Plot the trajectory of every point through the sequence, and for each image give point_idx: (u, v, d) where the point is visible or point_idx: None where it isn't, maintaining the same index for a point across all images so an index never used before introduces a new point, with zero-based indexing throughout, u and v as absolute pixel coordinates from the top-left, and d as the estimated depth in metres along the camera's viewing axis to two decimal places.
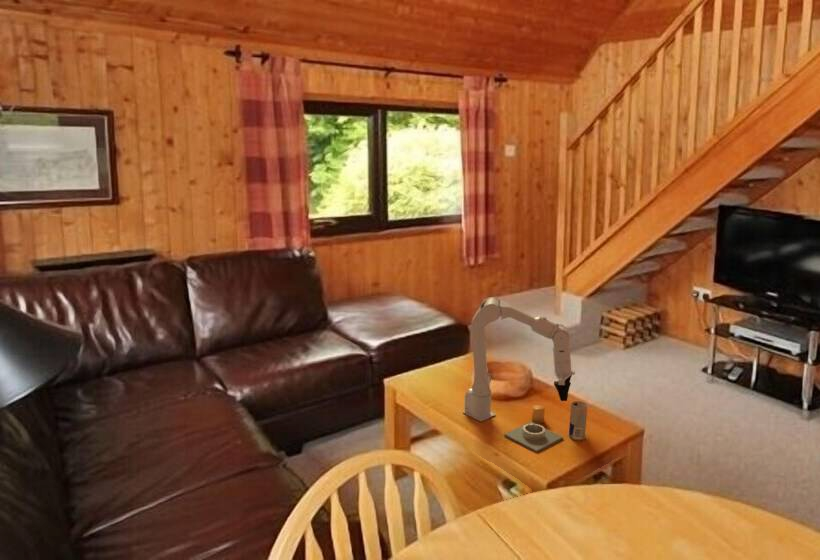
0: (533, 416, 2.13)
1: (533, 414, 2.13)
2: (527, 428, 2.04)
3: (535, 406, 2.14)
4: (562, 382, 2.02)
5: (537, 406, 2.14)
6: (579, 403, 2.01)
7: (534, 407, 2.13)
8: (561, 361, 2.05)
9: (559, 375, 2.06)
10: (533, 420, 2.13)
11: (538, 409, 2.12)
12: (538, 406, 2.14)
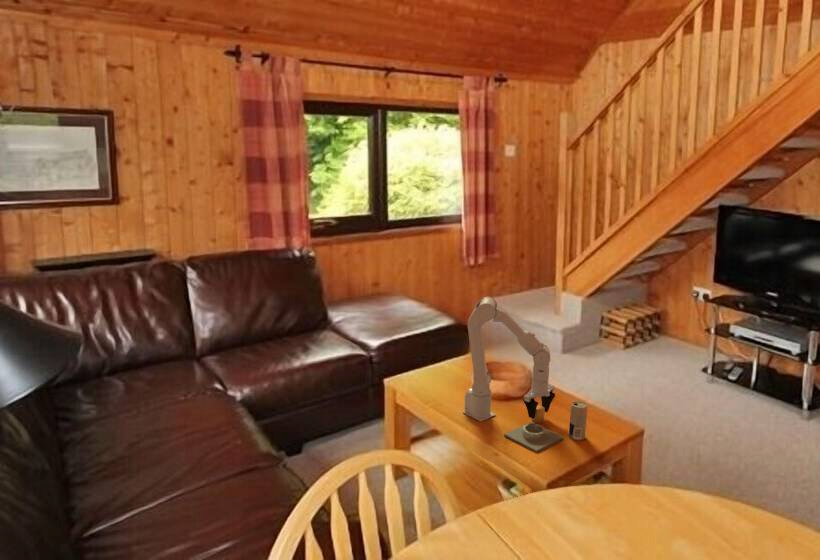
0: None
1: None
2: (527, 428, 2.04)
3: None
4: (527, 399, 2.07)
5: (537, 406, 2.14)
6: (579, 403, 2.01)
7: None
8: (539, 380, 2.08)
9: (532, 392, 2.10)
10: (533, 420, 2.13)
11: (538, 409, 2.12)
12: (538, 406, 2.14)
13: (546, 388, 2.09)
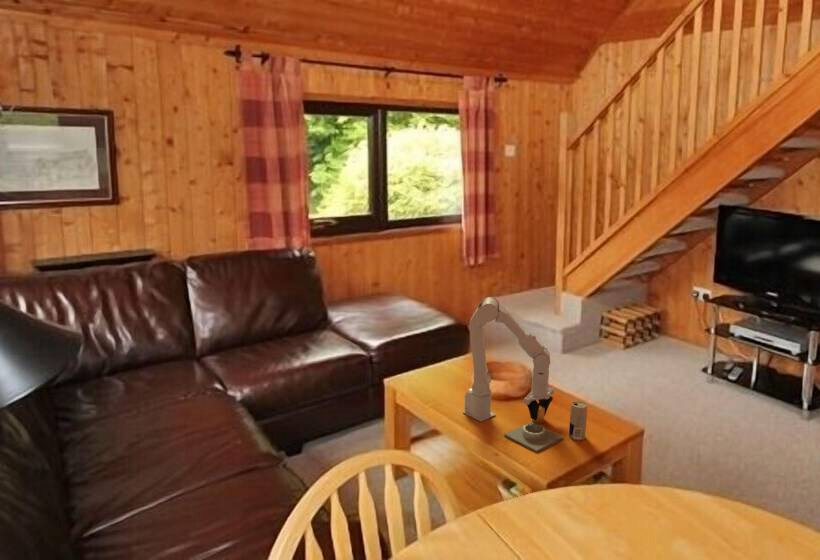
0: None
1: None
2: (527, 428, 2.04)
3: None
4: (526, 401, 2.07)
5: None
6: (579, 403, 2.01)
7: None
8: (539, 383, 2.08)
9: (531, 395, 2.11)
10: (533, 420, 2.13)
11: None
12: None
13: (546, 391, 2.09)
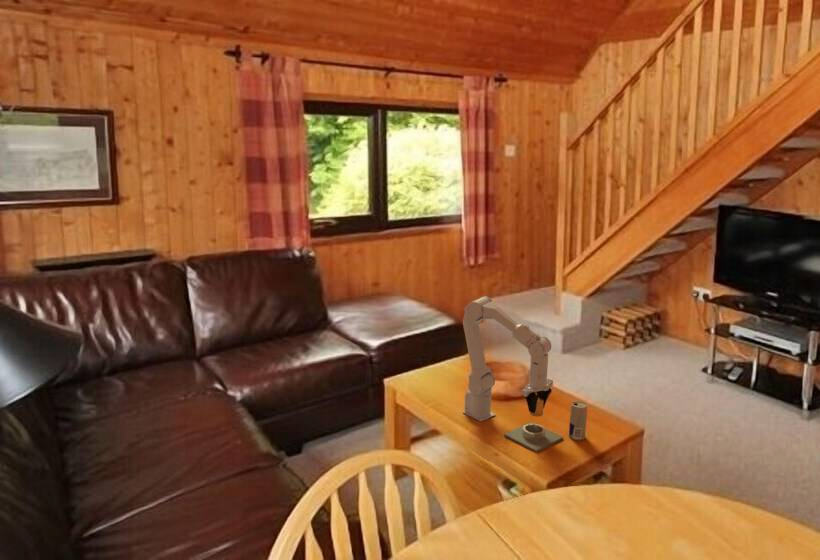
0: None
1: None
2: (527, 428, 2.04)
3: None
4: (524, 393, 1.97)
5: None
6: (579, 403, 2.01)
7: None
8: (534, 373, 1.99)
9: (530, 386, 2.01)
10: (531, 413, 2.03)
11: (537, 401, 2.02)
12: None
13: (545, 382, 1.99)
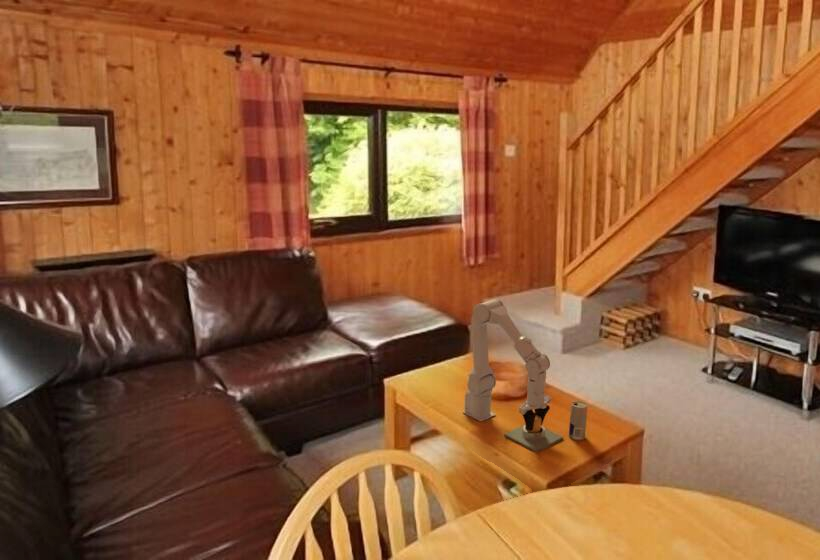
0: None
1: None
2: None
3: None
4: (522, 411, 1.95)
5: None
6: (579, 403, 2.01)
7: None
8: (530, 390, 1.96)
9: (527, 404, 1.98)
10: (529, 431, 2.00)
11: None
12: None
13: (542, 400, 1.97)
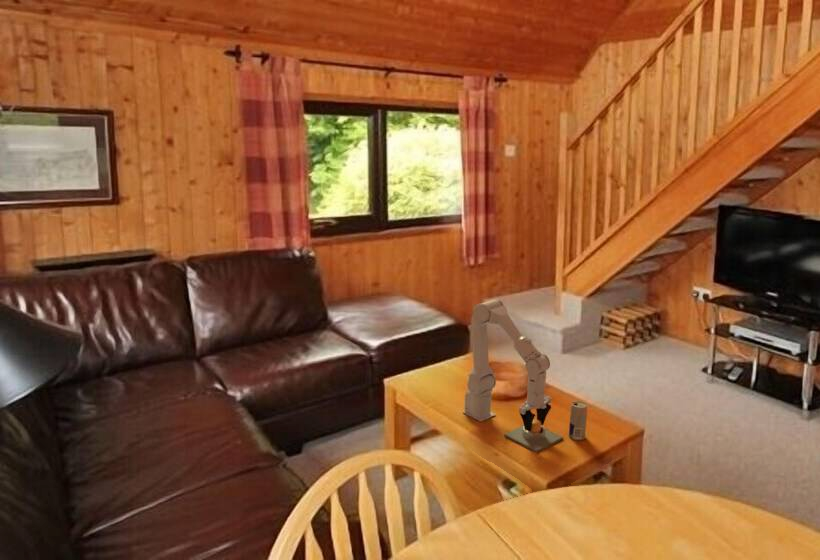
0: None
1: None
2: None
3: None
4: (522, 411, 1.95)
5: (533, 420, 2.02)
6: (579, 403, 2.01)
7: None
8: (530, 390, 1.96)
9: (527, 404, 1.98)
10: None
11: (534, 423, 2.00)
12: (534, 420, 2.02)
13: (542, 400, 1.97)
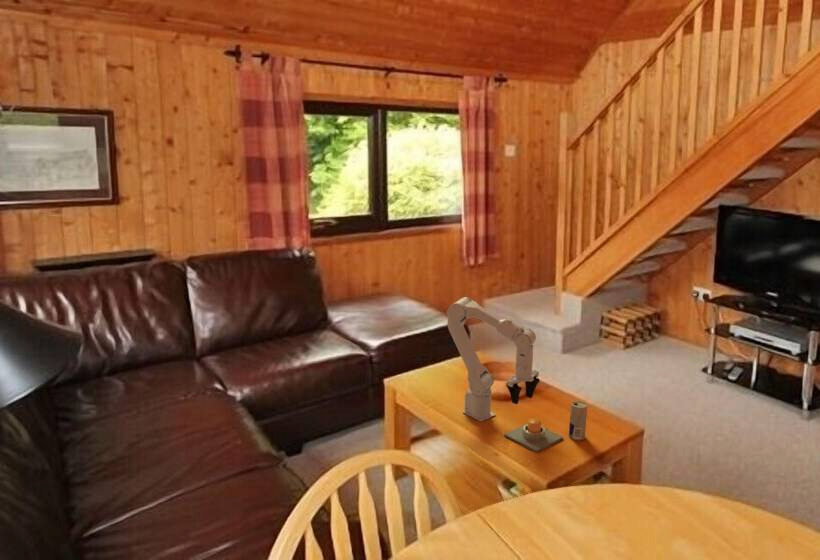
0: (529, 431, 2.00)
1: (529, 429, 2.00)
2: (527, 428, 2.04)
3: (531, 420, 2.02)
4: (510, 383, 2.02)
5: (533, 420, 2.02)
6: (579, 403, 2.01)
7: (530, 421, 2.01)
8: (520, 365, 2.03)
9: (515, 377, 2.06)
10: None
11: (534, 424, 2.00)
12: (534, 420, 2.02)
13: (530, 373, 2.04)
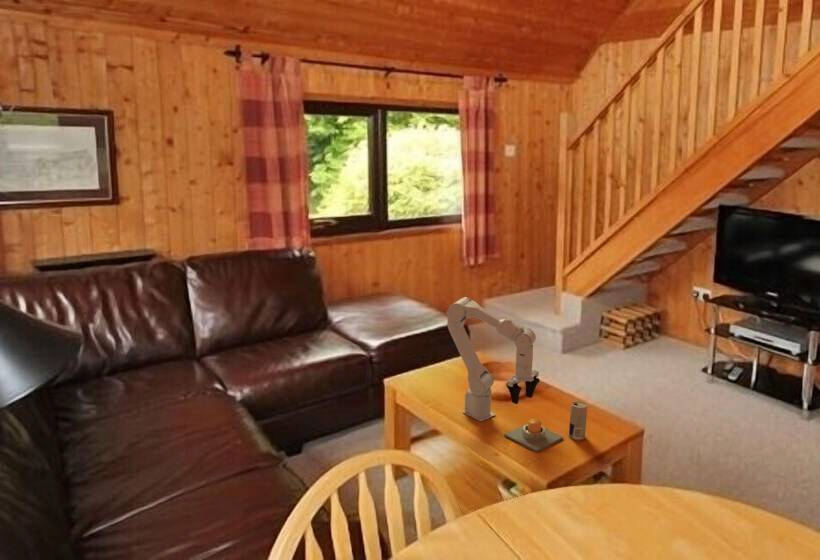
0: (529, 431, 2.01)
1: (529, 429, 2.00)
2: (527, 428, 2.04)
3: (531, 420, 2.02)
4: (510, 383, 2.02)
5: (533, 420, 2.02)
6: (579, 403, 2.01)
7: (530, 421, 2.01)
8: (520, 364, 2.04)
9: (515, 377, 2.06)
10: None
11: (534, 424, 2.00)
12: (534, 420, 2.02)
13: (530, 373, 2.05)
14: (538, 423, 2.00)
